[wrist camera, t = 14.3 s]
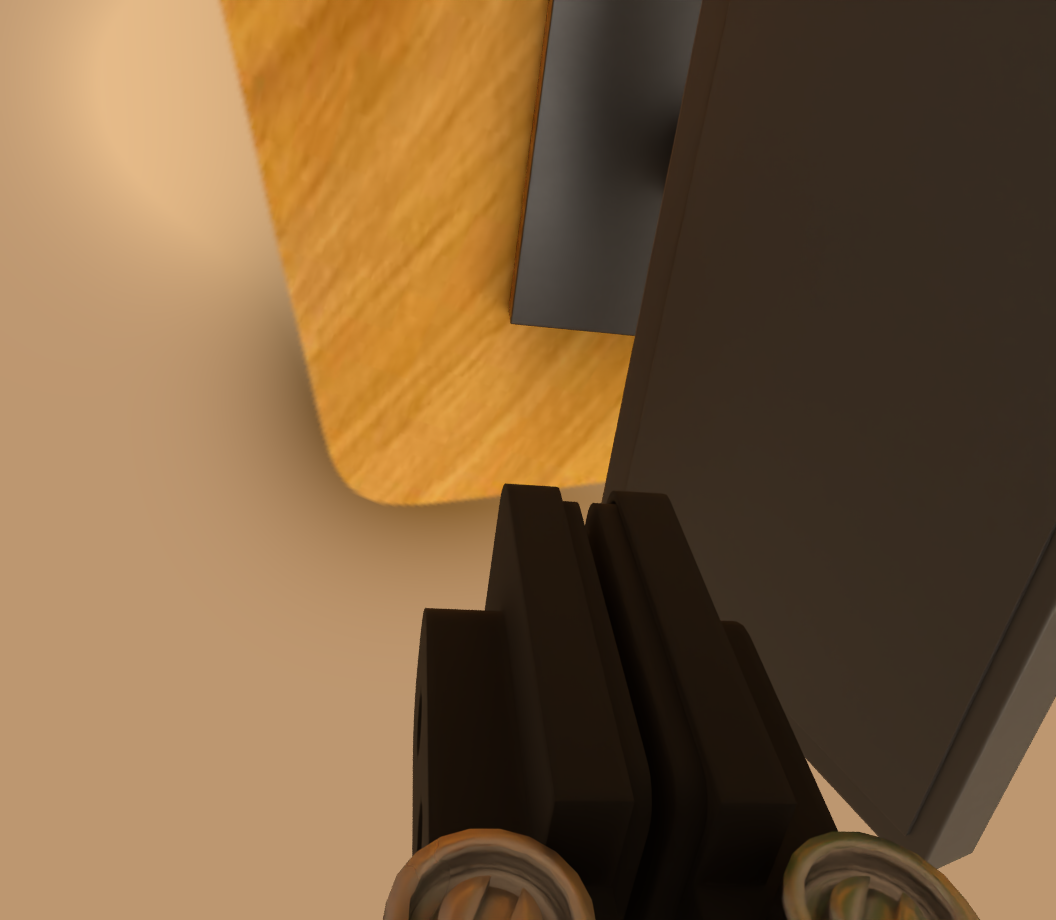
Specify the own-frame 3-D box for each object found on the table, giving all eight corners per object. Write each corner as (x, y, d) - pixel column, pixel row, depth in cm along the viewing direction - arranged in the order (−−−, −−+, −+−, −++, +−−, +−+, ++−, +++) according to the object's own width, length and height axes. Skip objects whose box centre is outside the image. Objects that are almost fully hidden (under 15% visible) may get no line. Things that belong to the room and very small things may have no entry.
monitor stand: (508, 311, 34) (535, 485, 24) (558, -73, 28) (621, -58, 18) (778, 337, 35) (912, 513, 25) (878, -24, 30) (1106, 15, 19)
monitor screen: (591, 533, 27) (913, 882, 18) (733, -190, 19) (1456, -203, 10) (641, 523, 28) (973, 854, 19) (799, -175, 20) (1524, -172, 11)
